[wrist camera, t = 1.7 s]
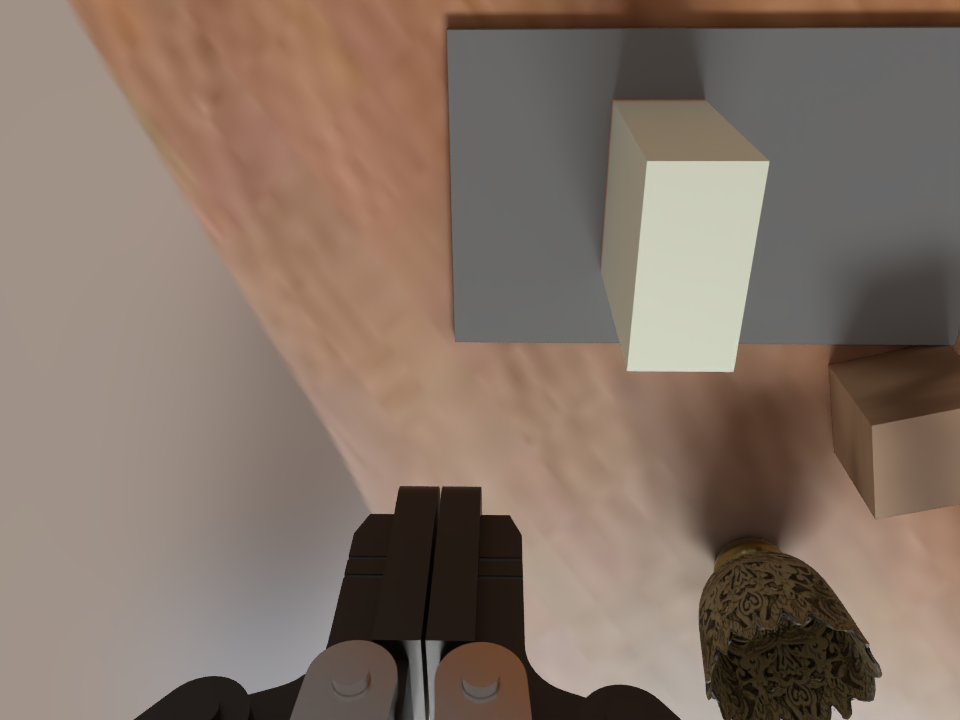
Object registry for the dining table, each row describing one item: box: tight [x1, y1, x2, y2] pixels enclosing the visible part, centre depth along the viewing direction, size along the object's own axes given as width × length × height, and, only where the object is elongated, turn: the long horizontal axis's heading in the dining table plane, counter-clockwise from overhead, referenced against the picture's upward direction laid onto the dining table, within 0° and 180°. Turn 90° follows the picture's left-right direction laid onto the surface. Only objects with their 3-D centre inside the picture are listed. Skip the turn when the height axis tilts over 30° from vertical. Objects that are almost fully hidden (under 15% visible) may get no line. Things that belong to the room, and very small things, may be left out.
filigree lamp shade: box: [699, 538, 882, 720], centre depth 39 cm, size 8×7×8 cm
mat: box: [447, 26, 960, 345], centre depth 33 cm, size 22×13×1 cm, turn 90°
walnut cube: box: [828, 345, 960, 520], centre depth 35 cm, size 5×5×5 cm
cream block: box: [600, 100, 770, 372], centre depth 28 cm, size 4×7×8 cm, turn 1°
